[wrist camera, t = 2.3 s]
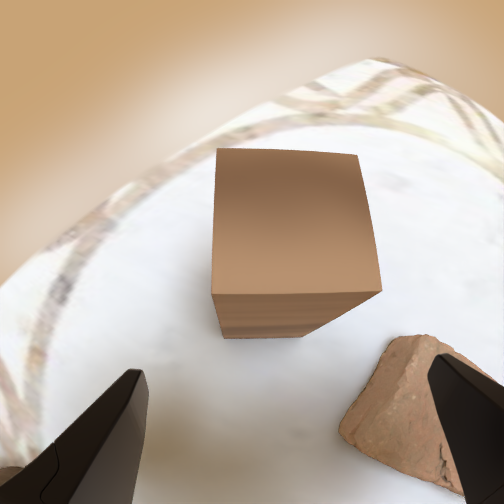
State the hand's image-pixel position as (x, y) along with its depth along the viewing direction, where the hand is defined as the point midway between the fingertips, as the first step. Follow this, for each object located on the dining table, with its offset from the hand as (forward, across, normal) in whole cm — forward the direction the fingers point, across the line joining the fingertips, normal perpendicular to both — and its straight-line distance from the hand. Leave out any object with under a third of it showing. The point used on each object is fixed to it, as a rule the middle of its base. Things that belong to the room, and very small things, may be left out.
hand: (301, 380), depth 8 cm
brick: (+4, -13, +13) cm, 19 cm away
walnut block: (+12, 0, +5) cm, 13 cm away
